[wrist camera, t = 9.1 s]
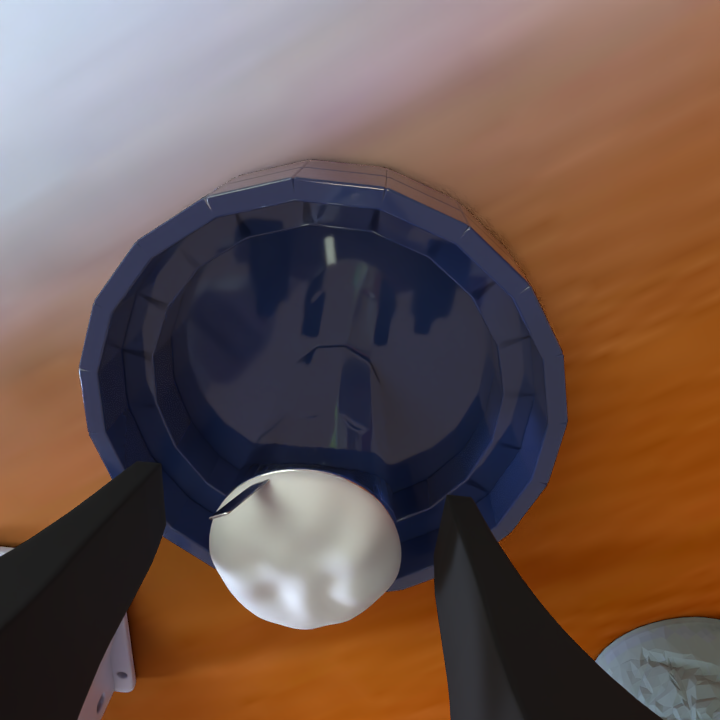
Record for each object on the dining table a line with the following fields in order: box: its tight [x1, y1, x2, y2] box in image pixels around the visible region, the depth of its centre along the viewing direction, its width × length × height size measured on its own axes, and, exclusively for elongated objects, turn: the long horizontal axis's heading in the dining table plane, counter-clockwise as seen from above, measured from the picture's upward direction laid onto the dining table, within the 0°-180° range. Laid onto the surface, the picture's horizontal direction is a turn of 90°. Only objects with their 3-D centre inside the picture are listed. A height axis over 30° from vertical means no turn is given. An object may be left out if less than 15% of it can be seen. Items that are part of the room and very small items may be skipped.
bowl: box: [79, 159, 568, 592], centre depth 19 cm, size 15×15×4 cm
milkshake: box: [209, 347, 401, 629], centre depth 16 cm, size 5×5×10 cm
